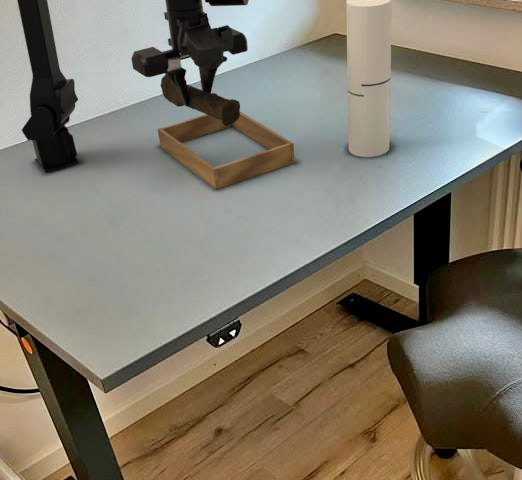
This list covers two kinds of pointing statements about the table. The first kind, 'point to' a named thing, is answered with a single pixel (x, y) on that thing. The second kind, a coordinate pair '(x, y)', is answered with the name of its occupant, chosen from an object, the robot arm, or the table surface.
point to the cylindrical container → (368, 76)
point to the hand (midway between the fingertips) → (196, 102)
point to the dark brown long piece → (203, 102)
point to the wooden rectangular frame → (233, 171)
